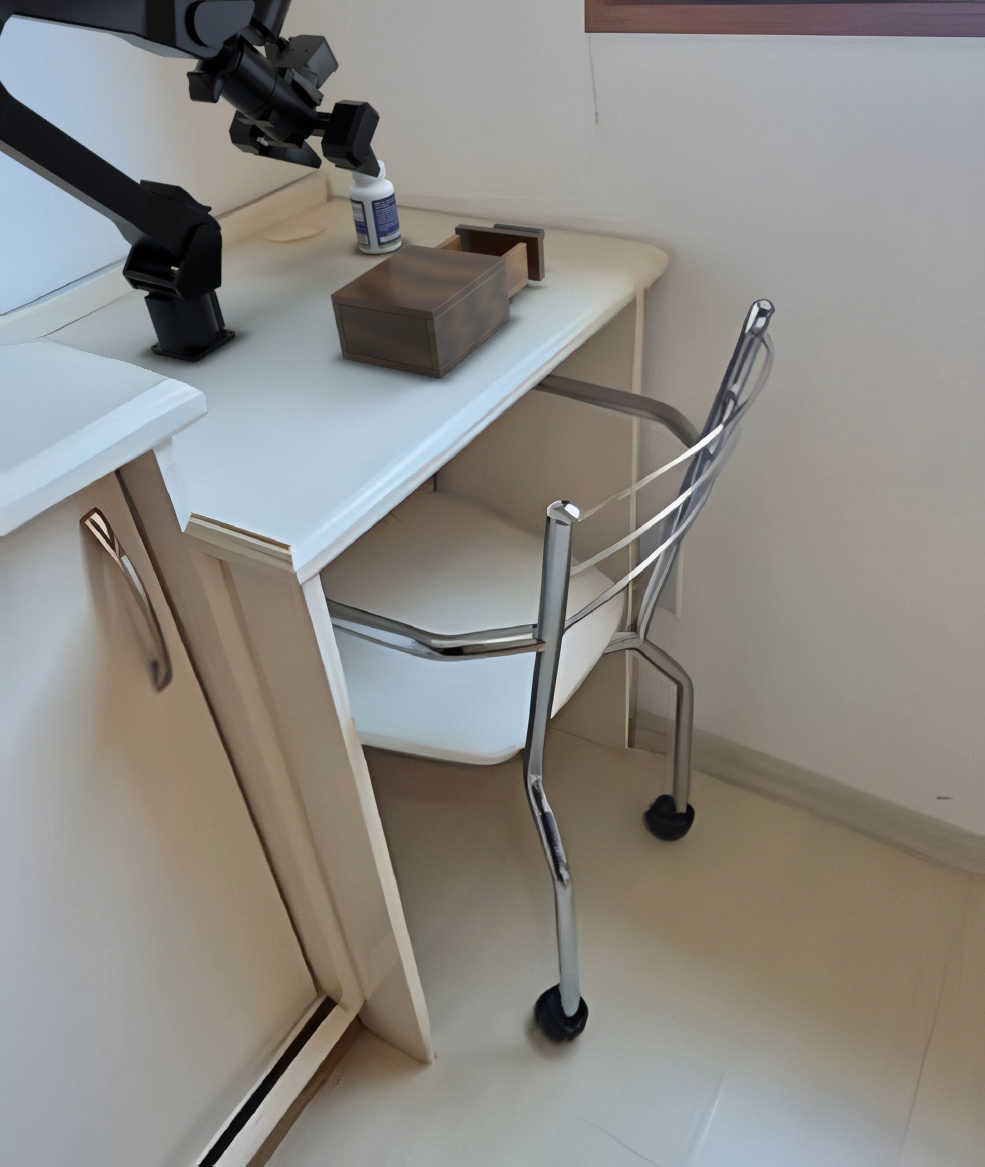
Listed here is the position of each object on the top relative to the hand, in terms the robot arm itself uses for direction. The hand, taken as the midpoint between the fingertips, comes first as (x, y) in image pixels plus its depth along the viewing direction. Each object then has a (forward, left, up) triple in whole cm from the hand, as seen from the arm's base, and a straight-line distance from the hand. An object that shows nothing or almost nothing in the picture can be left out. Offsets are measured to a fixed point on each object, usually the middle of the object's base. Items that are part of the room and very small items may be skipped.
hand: (348, 169), depth 107 cm
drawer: (-5, -20, -9) cm, 23 cm away
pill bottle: (+3, 0, -10) cm, 11 cm away
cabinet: (-17, -20, -10) cm, 28 cm away
